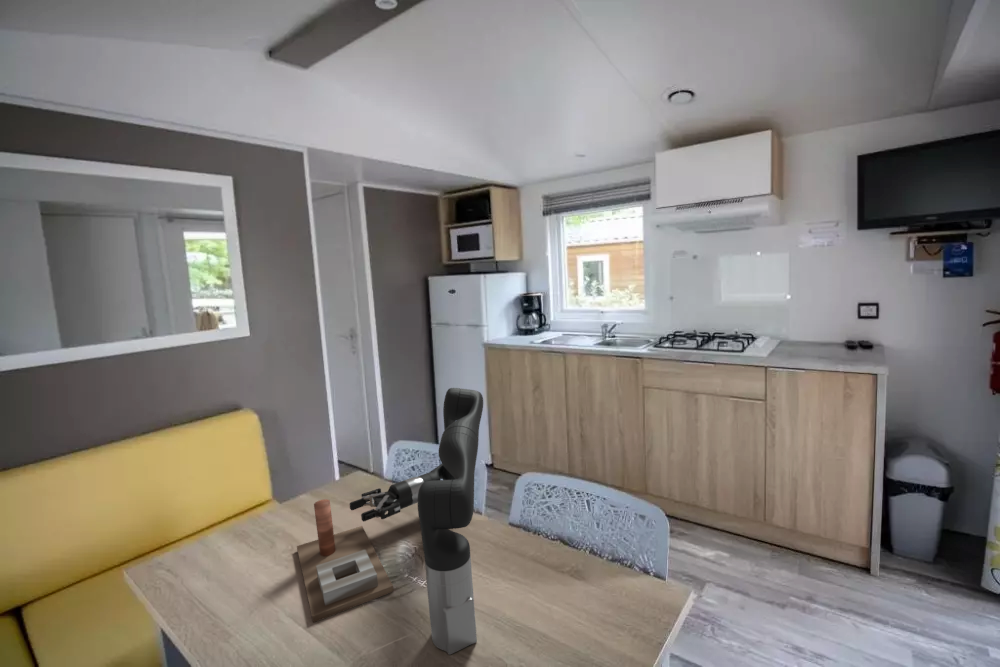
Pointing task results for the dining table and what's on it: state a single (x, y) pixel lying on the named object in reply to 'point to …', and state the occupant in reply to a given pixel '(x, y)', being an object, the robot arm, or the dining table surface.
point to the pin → (324, 527)
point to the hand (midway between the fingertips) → (355, 512)
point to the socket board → (341, 550)
